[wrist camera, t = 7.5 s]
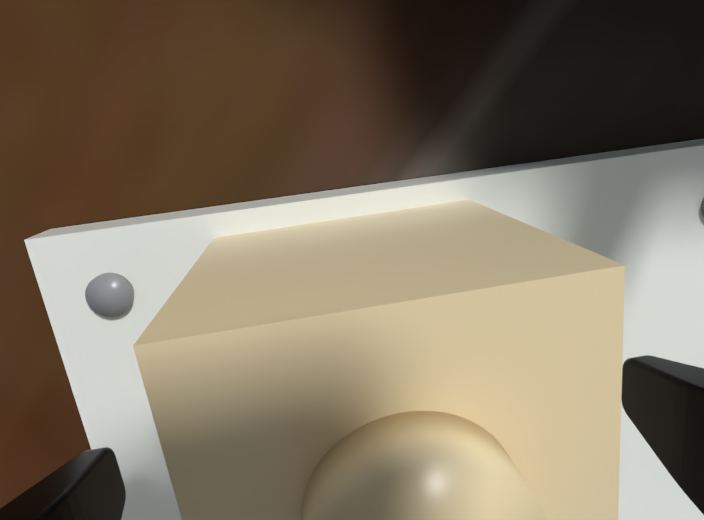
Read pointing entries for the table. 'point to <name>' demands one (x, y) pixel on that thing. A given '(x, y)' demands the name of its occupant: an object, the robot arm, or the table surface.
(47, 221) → the table surface
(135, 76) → the table surface
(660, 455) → the robot arm
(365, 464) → the beige block
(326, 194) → the junction plate
